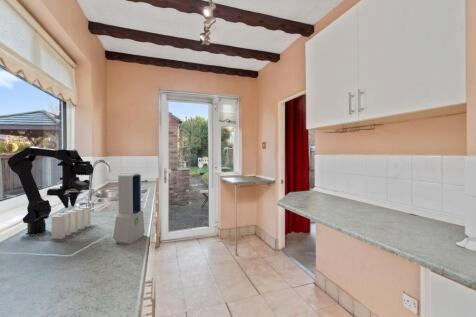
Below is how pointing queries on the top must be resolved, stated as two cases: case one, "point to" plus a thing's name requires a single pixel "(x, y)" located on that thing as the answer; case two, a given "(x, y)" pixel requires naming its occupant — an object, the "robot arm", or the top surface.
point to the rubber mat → (49, 238)
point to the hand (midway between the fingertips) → (69, 207)
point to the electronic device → (129, 209)
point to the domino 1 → (58, 227)
